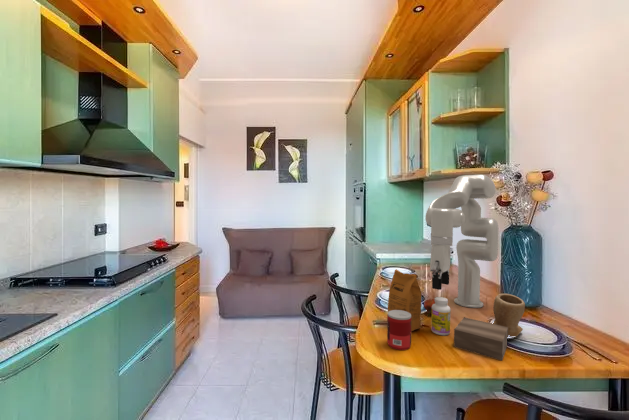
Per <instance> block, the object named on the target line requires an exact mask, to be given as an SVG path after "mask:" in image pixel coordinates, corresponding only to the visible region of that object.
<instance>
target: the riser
mask: <svg viewBox="0 0 629 420" xmlns="http://www.w3.org/2000/svg"><path fill="white" fill-rule="evenodd" d="M507 337H508V327H505V326H501V325H496V324H492V322H487V321H482V320H479V319H475V318H474V319H473V318H469V317H466V316H464V317H463V318H462V319H461V320H460V322H459V323H458V324H457V325H456V326H455V328H454V329H453V347H454V348H456V349H461V350H463V351H467V352H471V353H475V354H478V355H482V356H485V357H487V358H492V359H495V360H499V361H503V360H504V356H505V353H506V351H507V347H508V345H507Z"/></svg>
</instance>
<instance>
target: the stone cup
mask: <svg viewBox="0 0 629 420" xmlns="http://www.w3.org/2000/svg"><path fill="white" fill-rule="evenodd" d="M493 301H494V302H493V305H492V306H493V309H492V310H493V315H494V320H493V321H494V323H493V324H496V325H501V326H505V327H508V335H510V336H517V337H518V336H519V335H520V333H522V331H523V330H524V329H523V328H522V326H520V325H519V323H520V321H521V319H522V317H523V315H524V314H525V307H526V303H525V300H523V299H522V298H520V297H518V296H517V295H514V294H510V293H499V294H497V295H496V296H495V298H494V299H493Z"/></svg>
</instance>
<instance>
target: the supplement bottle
mask: <svg viewBox="0 0 629 420" xmlns="http://www.w3.org/2000/svg"><path fill="white" fill-rule="evenodd" d="M434 299H435V300H434V301H435V304H433V305H432V314H430V315H431V317H430V319H431V322H430V323H431V325H430V328H431V329H430V330H431V331H432V333H434V334H436V335H438V336H439V335H440V336H448V335H449V334H450V333H451V311H452V309H451V307H450V306H449V305H448V303H449V300H448V298H446V297H444V296H443V297H442V296H436V297H434Z"/></svg>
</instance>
